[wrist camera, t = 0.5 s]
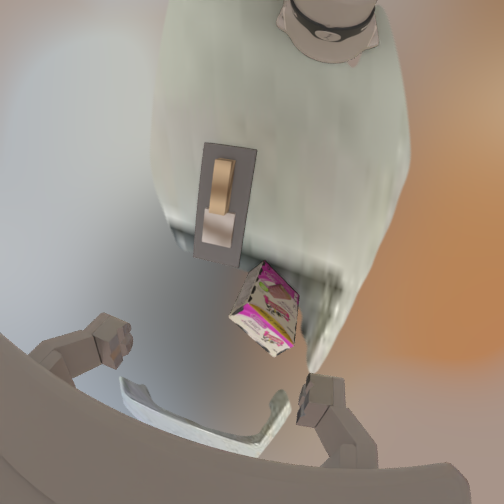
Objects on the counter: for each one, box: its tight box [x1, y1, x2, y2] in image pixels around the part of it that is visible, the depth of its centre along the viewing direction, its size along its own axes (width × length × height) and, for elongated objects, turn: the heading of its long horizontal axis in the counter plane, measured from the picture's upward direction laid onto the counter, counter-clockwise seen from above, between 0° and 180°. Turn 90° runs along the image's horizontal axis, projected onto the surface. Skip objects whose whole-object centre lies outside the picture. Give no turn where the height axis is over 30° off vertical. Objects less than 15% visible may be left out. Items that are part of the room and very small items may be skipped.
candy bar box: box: [229, 260, 299, 357], centre depth 51 cm, size 11×5×16 cm, turn 45°
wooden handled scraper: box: [202, 158, 236, 248], centre depth 51 cm, size 17×6×3 cm, turn 171°
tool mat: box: [193, 143, 257, 268], centre depth 53 cm, size 24×10×1 cm, turn 171°
